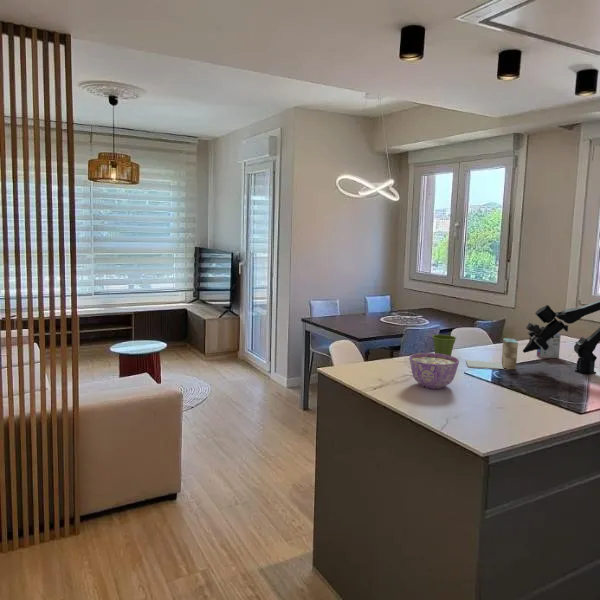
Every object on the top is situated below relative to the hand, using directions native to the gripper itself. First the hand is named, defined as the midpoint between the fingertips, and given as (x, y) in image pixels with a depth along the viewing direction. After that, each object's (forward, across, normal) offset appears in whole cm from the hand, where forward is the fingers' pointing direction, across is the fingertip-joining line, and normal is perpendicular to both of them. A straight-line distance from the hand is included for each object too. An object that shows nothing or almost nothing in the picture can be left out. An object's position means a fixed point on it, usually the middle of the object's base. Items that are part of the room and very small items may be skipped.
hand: (523, 351), depth 245 cm
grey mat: (+18, 0, -6) cm, 19 cm away
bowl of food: (+36, +41, -24) cm, 59 cm away
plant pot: (+31, -8, -20) cm, 38 cm away
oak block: (+10, 0, +1) cm, 10 cm away
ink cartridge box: (-7, -28, +18) cm, 34 cm away
